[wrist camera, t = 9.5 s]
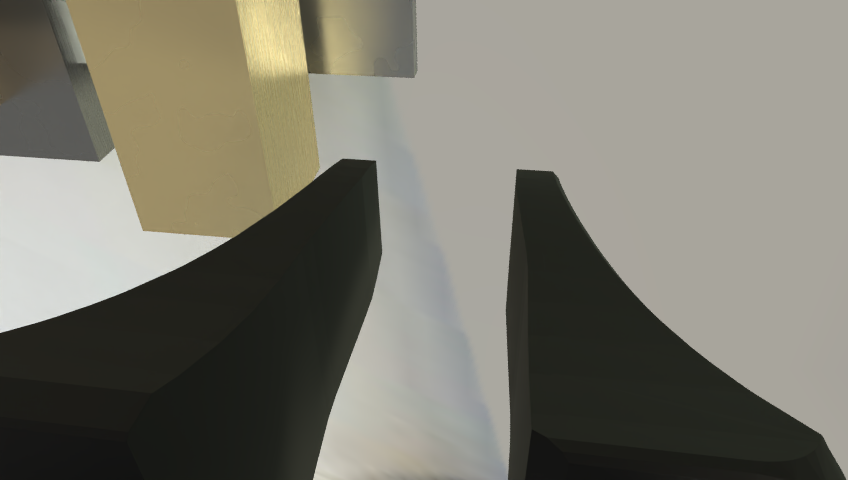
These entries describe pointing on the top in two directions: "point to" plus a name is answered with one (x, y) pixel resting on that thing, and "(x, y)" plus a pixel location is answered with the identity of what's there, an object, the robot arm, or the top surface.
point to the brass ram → (203, 106)
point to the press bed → (76, 95)
